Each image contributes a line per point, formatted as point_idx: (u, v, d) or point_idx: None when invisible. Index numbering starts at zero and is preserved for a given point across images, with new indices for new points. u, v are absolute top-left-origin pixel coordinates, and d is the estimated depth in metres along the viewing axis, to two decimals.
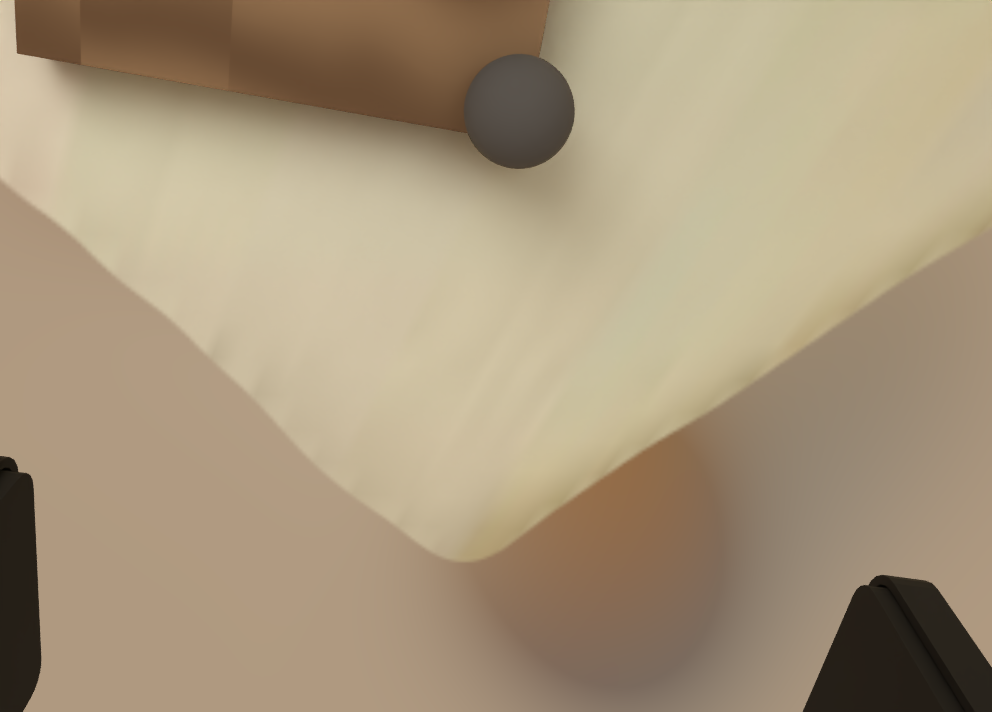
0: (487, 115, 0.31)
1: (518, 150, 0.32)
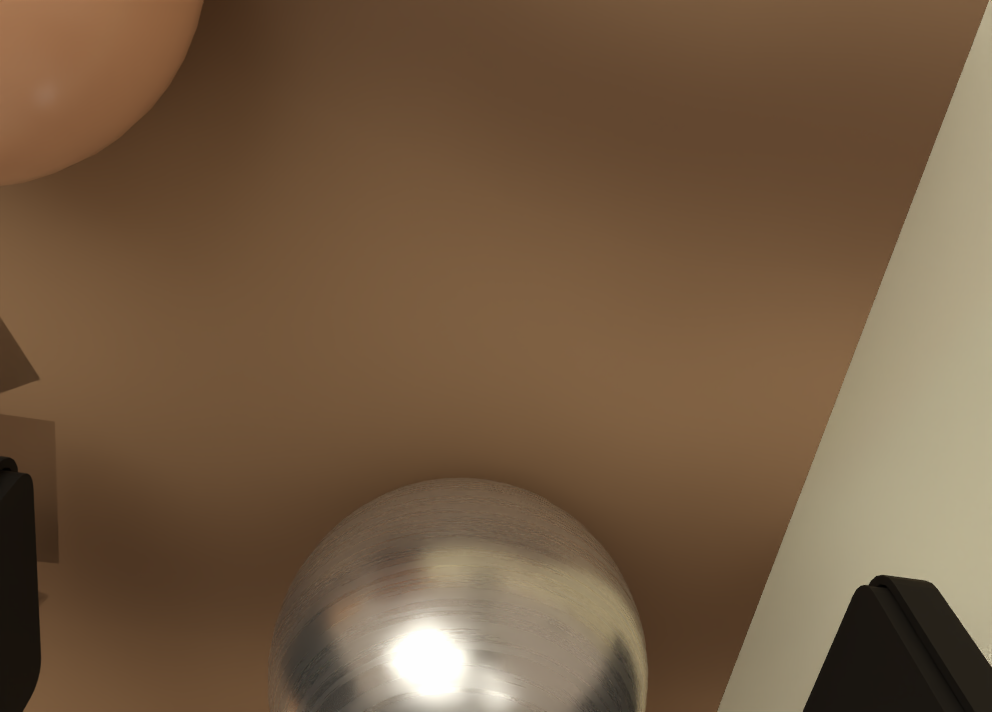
0: None
1: None
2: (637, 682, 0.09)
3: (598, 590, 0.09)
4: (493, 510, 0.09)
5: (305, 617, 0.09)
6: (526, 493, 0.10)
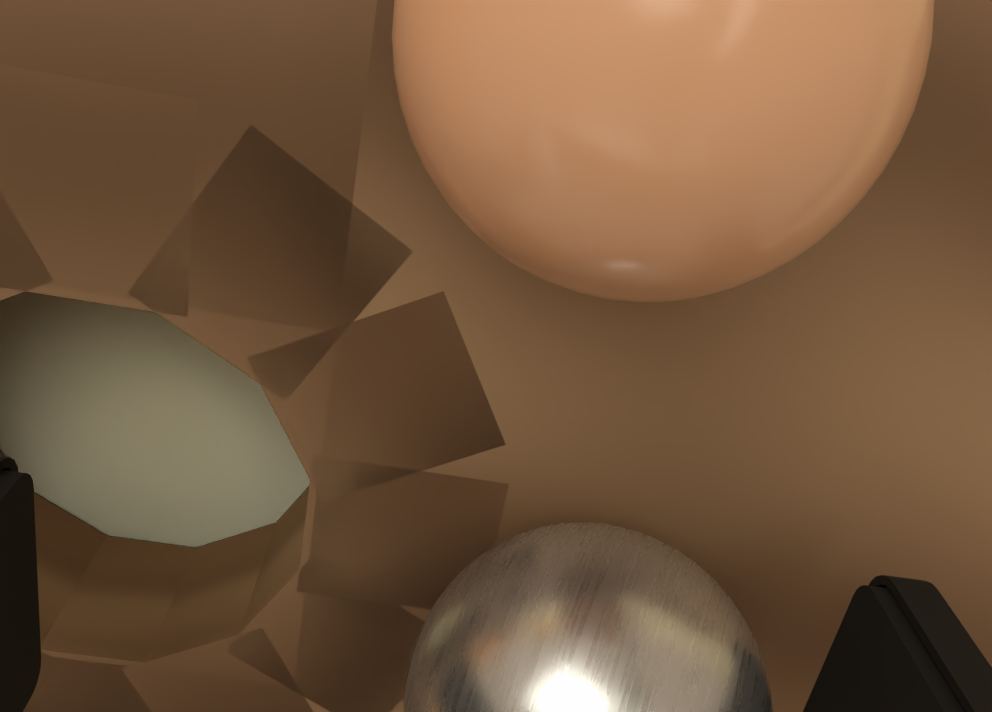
0: None
1: None
2: None
3: (521, 666, 0.09)
4: (610, 575, 0.09)
5: None
6: (663, 637, 0.09)
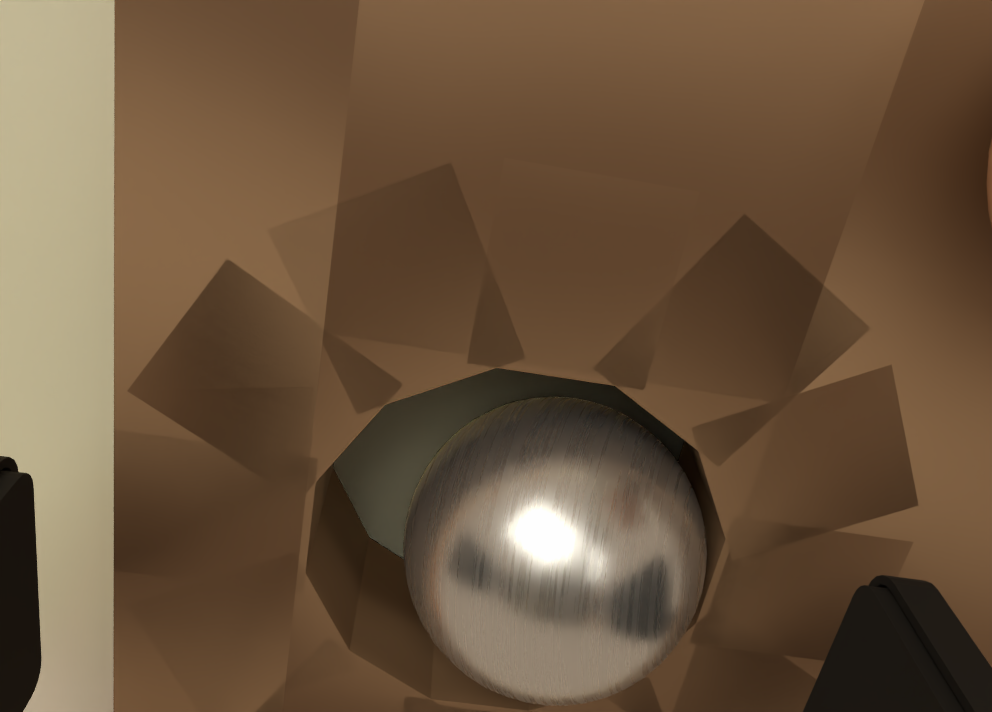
0: None
1: None
2: None
3: None
4: None
5: (595, 453, 0.11)
6: None
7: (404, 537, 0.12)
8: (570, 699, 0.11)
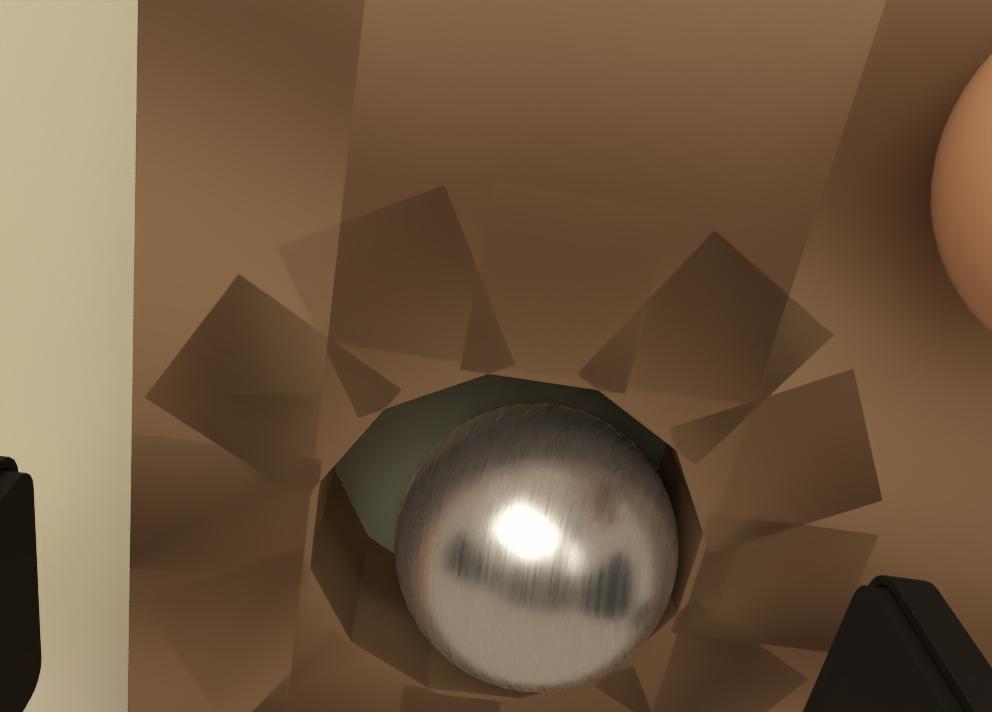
0: None
1: None
2: None
3: None
4: None
5: (569, 457, 0.12)
6: None
7: (395, 531, 0.13)
8: (543, 686, 0.12)
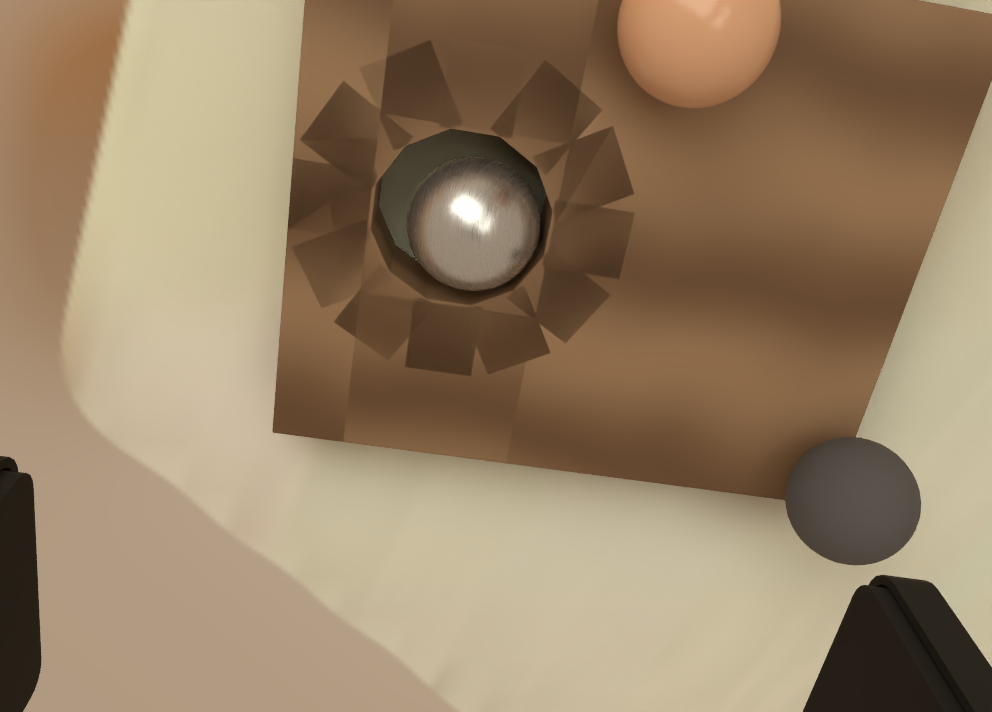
0: (834, 525, 0.27)
1: (865, 559, 0.28)
2: None
3: None
4: None
5: (483, 169, 0.26)
6: None
7: None
8: (472, 275, 0.26)
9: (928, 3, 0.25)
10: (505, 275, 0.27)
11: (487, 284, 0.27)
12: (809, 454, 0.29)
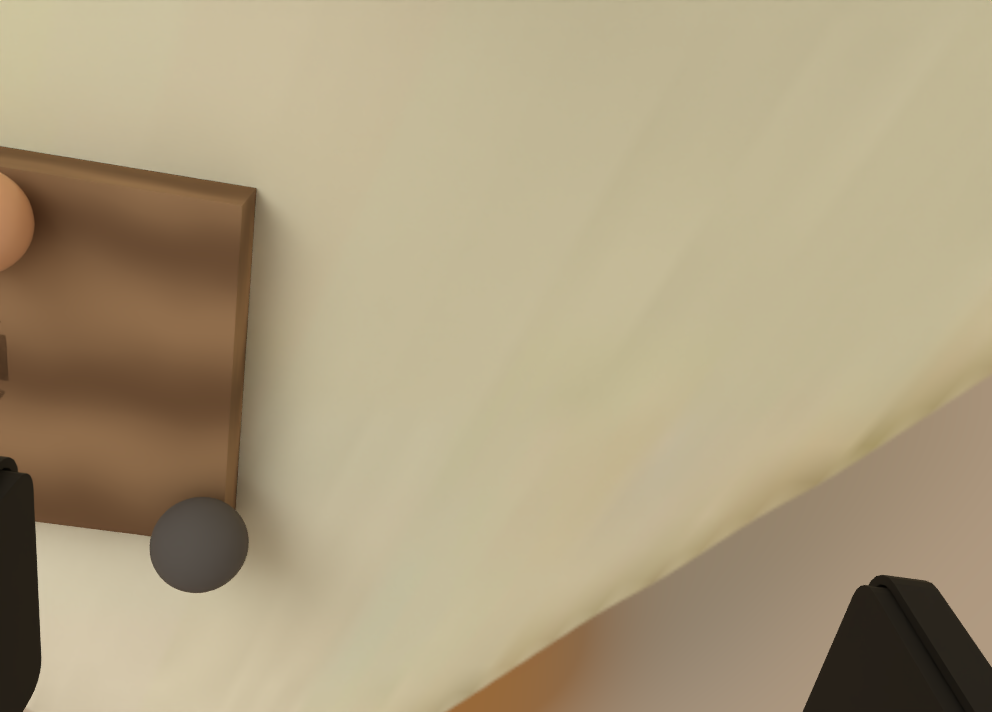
0: (160, 564, 0.37)
1: (189, 589, 0.38)
2: None
3: None
4: None
5: None
6: None
7: None
8: None
9: (174, 195, 0.34)
10: None
11: None
12: None
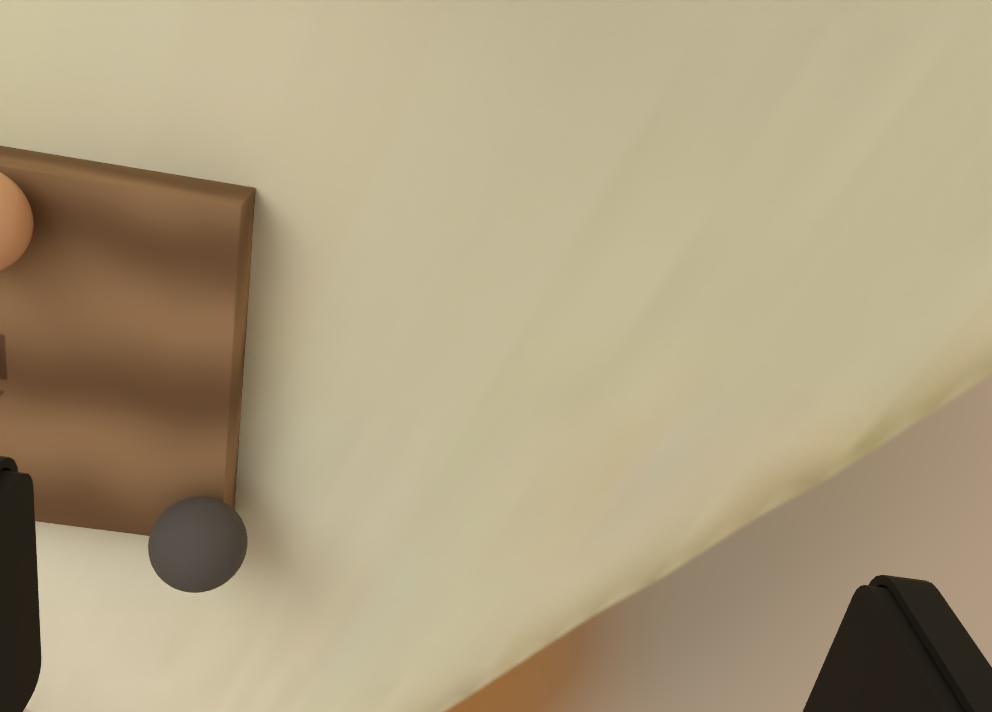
0: (158, 564, 0.37)
1: (188, 589, 0.38)
2: None
3: None
4: None
5: None
6: None
7: None
8: None
9: (173, 195, 0.34)
10: None
11: None
12: (166, 509, 0.39)
